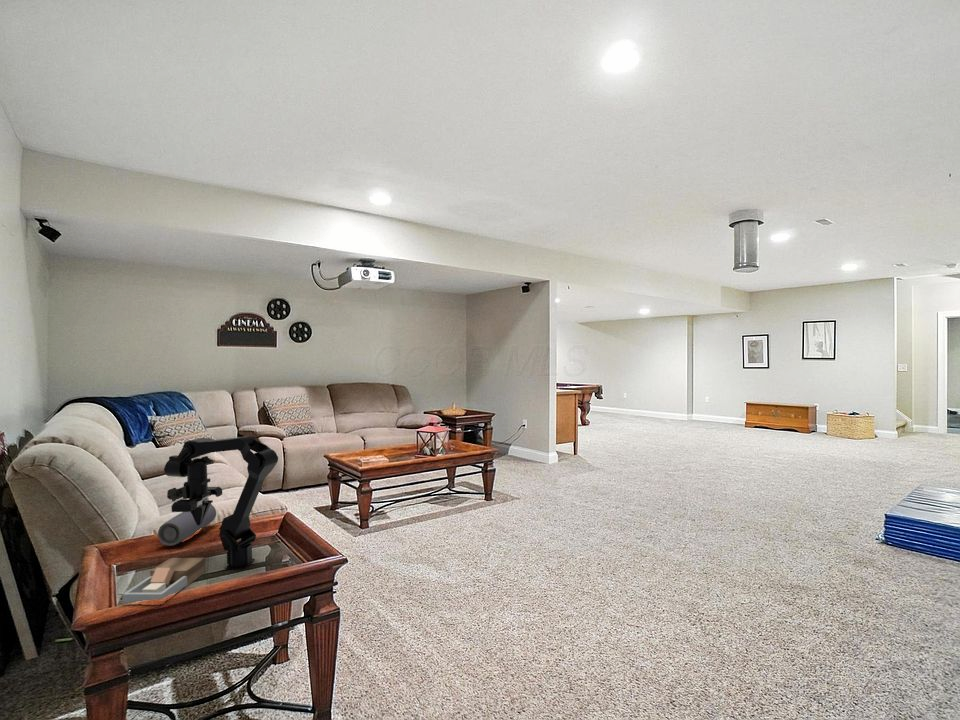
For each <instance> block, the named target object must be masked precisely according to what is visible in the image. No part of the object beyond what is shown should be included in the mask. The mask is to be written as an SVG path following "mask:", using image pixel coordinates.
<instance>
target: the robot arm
mask: <svg viewBox="0 0 960 720" xmlns="http://www.w3.org/2000/svg"><path fill="white" fill-rule="evenodd" d="M237 450H238V452H240V454H241V458H242V459H243V461H245V462H246V463H247V469H246V470H247V474H248V476H247V479H246V481H245V483H244V487H243V488H242V490H241V494H240V495H239V499H238V501H237V504H236V506H235V508H234V510H233V513H231V514H230V515H228V516H226V517H223V519H222V521H221V525H220V527H219V528H218V530H219V533H218V536H219V538H220V541H221V544H222V547H223V550H224V551H226V566H225V569H226V570H245V569H247V568H249V566H250V565H252V564H253V563H254V562H255V561H256V559H255V558H253V544H252V543H253V542H255V541H256V538H257V534H255V532H254V531H253V530H252V529H251V527H250V526H251V520H250V514H251V512H252V510H253V507H254V505H255V503H256V500H257V498H258V496H259V493H260V490H261V488H262V485H263V483H264V481H265V479H266V477H267V476H268V475H269V474H270V473H271V472H272V471H273V470H274V468H275V467H276V465H277V463H278V462H279V456H278V454H277V452H276V451H275V450H274V449H272V448H270V447H269V445H267V444H265V443H263V442H261V441H259V440H257V439H256V438H255V437H253V436H251V435H244V436H238V437H228V438H221V439H219V438H218V439H213V438H211V437H210V438H209V437H199V438H194V439H191V440H187V441H184V443H183V445H182V449H181V450H180V452H179V453H178V454H177V455H176V454H175V455H171V456H170V455H169V457H168V461H167V462H165V465H164V468H163V472H164V474H165V475H166V476H167V477H177V478H178V477H179V478H185V477H187V478H186V480H187V481H185V482H184V483H183V486H182V487H179V488H177V487H173V488H170V489H167V493H166V494H167V496H166V498H167V499H168V500H170V501H171V502H173V503H172V504H171V506H170V507H171V508H170V509H171V512H172V513H182V512H191V513H192V515H193V518H194V520H195V522H196V524H197V525H201V524H202V522H203V520H204V517H205V515H206V513H207V511H208V509H209V507H210V505H211V504H212V503H214V500H212V499H211V500H209V498H210V496H215V497H217V498H218V497H220V496H223V489H222V487H220V486H209V485H208V484H209V483H210V482H211V477H210V478H208V465H210V464H212V463H213V461H214V460H212V459H211V458H209V456H208V455H207V454H211V453H219V452H220V453H221V452H229V451H237ZM254 452H255V453H254ZM205 455H206V456H205ZM200 457H201V458H200ZM176 500H177V501H176Z"/></svg>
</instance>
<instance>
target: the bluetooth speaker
mask: <svg viewBox="0 0 960 720" xmlns="http://www.w3.org/2000/svg"><path fill="white" fill-rule="evenodd" d="M216 516H217V510H216V508H215V506H214V505H213V504H212V503H211V505H210V507H209V509H208V511H207V513H206V515H205V517H204V520H203V522H202V524H201V525H197V524H196V522H195V520H194V518H193V515H192V513H191V512H179V513H178V514H177V515H175V516H174V517H172V518H170V519H169V520H167V521H165V522H164V523H163V524H162V525H160V526H159V529H158V531H157V538H158V540H159V542H160V543H161V544H162V545H164V546H170V547H171V546H172V547H173V546H176V545H178V544H180V542H181V541H183V540H184V539H186V538H187V537H189V536H191V535H192V534H194V533H195V532H196V531H197V530H199V529H200V528H203V527H205V528H206V527H207V526H209V525H210V524H212V522H213V521H214V520H215V519H216ZM203 529H204V528H203Z"/></svg>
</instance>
